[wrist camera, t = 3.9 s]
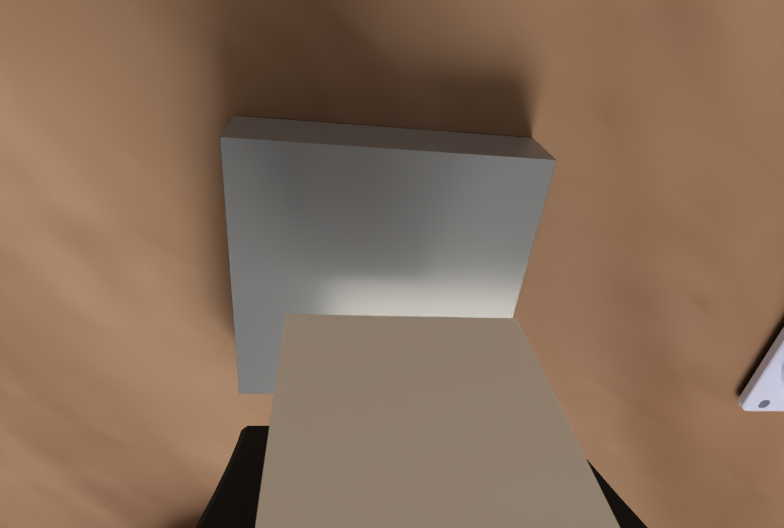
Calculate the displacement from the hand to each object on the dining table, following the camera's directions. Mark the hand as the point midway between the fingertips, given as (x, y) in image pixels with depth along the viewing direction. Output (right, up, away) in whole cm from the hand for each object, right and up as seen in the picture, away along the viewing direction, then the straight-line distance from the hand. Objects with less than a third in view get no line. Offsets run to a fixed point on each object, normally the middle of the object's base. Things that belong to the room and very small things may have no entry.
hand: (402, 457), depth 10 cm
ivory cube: (0, +1, +2) cm, 2 cm away
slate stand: (-1, +4, +7) cm, 8 cm away
